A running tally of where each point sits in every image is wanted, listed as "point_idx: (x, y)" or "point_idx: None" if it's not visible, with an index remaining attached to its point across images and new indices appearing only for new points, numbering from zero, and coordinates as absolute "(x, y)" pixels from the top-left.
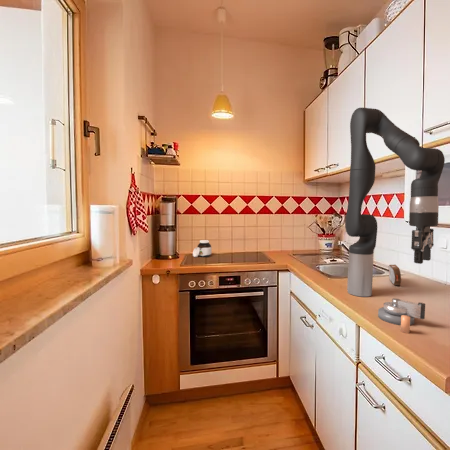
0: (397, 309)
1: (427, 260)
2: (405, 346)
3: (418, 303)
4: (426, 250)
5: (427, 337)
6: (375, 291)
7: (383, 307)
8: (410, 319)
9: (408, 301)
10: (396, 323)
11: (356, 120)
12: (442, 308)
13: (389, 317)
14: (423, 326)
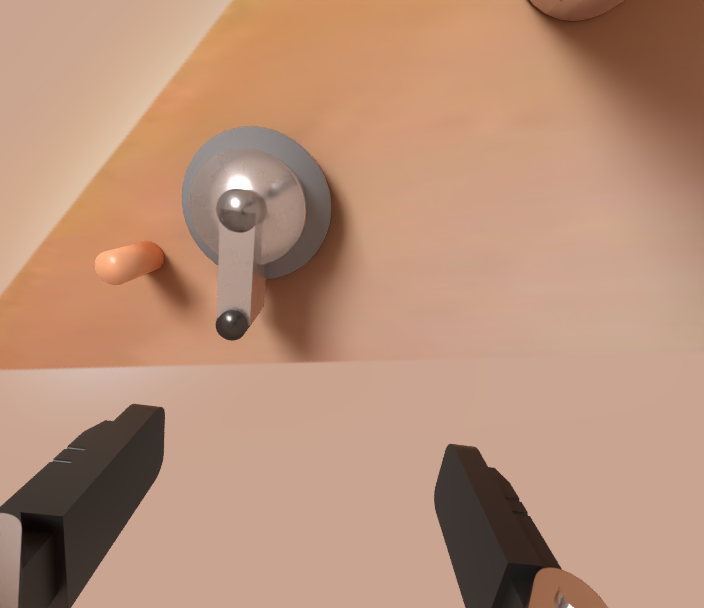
0: (195, 222)
1: (437, 480)
2: (19, 273)
3: (223, 313)
4: (481, 587)
5: (158, 321)
6: (688, 21)
7: (293, 142)
8: None
9: (250, 267)
10: None
11: None
12: (534, 347)
13: (184, 191)
14: None
